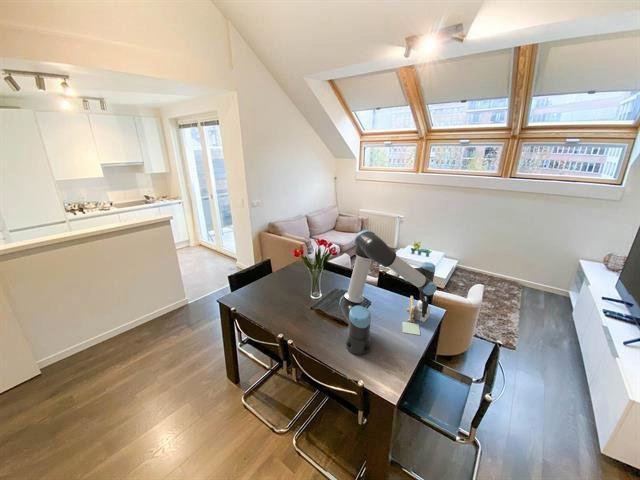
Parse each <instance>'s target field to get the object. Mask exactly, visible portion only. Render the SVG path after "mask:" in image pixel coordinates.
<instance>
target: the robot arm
mask: <svg viewBox="0 0 640 480" xmlns="http://www.w3.org/2000/svg"><path fill="white" fill-rule="evenodd" d="M354 244H355V250H354V254H355V256H356V257H355V261H354V265H353V266H354V267H353V270H352V274H351V277H350V281H349V285H348V290H347V291H346V292H345V293H344V294H343V295H342V296H341V297H340V299H339V306H340V310H341V312H342V314H343V316H344V318H345V319H346V322H347V323H348V334H347V336H346V339H345V342H344V343H345V348H346V349H347V351H348V352H349V353H350V354H353V355H356V356H364V355H367V354H368V353H370V352H371V351H372V348H373V342H372V339H371V336H370V333H371V322H372V315H371V312H370V310H369V309H368V308H367V307H364V306H363V303H364V301H365V300H364V298H365V297H364V296H363V294H364V293H363V292H364V290H365V287H366V286H365V285H366V282H367V278H368V274H369V270H370V267H371V263H372V261H373V262H374V263H375V262H376V263H377V264H378V265H380V266H382V267H384V268H388V269H390V270H392V272H394V273H396V274H397V275H398V276H400V277H401V278H403V280H404V282H407V283H408V282H409V283H411V284H412V285H413V286H415V287H416V288H418V291H419V299H421V301H422V311H421V317H420V320H421V321H420V320H419V321H420V322H422V321H425V316H426V314H427V302H429V296H432V295H434V294H435V293H436V291H437V285H436V284H435V282H434V278H435V274H436V273H435V272H436V265H435V264H434V263H432V262H429V261H427V262H425V261H424V262H423V263H422V264H421V265H422V266H420V267H413V266H411V265H410V264H409V263H408V262H406V261H405V260H404V259H402V258H400V257H399V256H398V255H397V252H396V251H394V250H393V249H392V248H391V247H390V246H389V245H388V244H387V243H386V242H385V241H384V240H383V239H382V238H380V237H379V236H378V235H376V233H375V232H373V231H372V230H369V229H363V230H360V231H359V232H358V233H357V234H356V235H355V237H354ZM425 322H426V321H425Z"/></svg>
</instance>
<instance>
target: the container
mask: <svg viewBox="0 0 640 480" xmlns="http://www.w3.org/2000/svg"><path fill="white" fill-rule="evenodd" d="M416 304H417V305H415V306H414V308H415V309H414V316H413V319H415V320H418V321H420V322H422V323H425V322H426V321H427V320H428V319H429V318H430V314H431V313H430V312H431V306H429V301H428V302H427V314H426V316H425V321H421V320H420V317H421V311H422V301H421V299H420V298H419V299H418V300H417V303H416Z"/></svg>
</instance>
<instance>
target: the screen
mask: <svg viewBox="0 0 640 480" xmlns="http://www.w3.org/2000/svg"><path fill="white" fill-rule="evenodd" d="M408 305H409V306H408V308H406V311H407V312H408V316H409V318H407V322H408V323H415V320H416V319H415V318H413V316H414V309H415V303H414V296H413V295H410V298H409V304H408Z"/></svg>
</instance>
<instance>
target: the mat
mask: <svg viewBox="0 0 640 480" xmlns="http://www.w3.org/2000/svg"><path fill="white" fill-rule="evenodd" d="M401 323H402V325H401V326H402V333H404V334H409V335H415V336H416V335H417V336H421V331H420V324H419V323H415V322H413V323H411V322H408V321H407V322H406V321H402V322H401Z"/></svg>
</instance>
